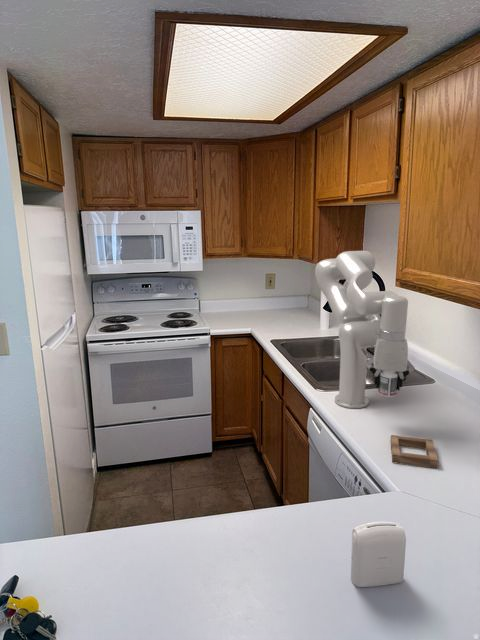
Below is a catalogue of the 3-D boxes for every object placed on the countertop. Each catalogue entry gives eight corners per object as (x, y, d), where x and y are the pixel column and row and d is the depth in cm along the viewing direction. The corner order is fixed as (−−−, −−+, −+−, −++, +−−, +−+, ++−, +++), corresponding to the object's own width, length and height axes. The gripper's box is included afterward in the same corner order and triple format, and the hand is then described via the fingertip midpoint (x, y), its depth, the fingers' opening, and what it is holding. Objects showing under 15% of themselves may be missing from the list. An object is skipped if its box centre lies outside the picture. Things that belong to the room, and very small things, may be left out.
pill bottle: (394, 390, 143) (396, 362, 140) (398, 398, 137) (401, 369, 135) (376, 390, 143) (378, 362, 141) (380, 397, 138) (382, 368, 135)
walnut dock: (390, 442, 135) (390, 434, 134) (431, 447, 132) (432, 439, 131) (392, 462, 124) (392, 454, 123) (437, 468, 120) (438, 460, 120)
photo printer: (354, 590, 82) (357, 534, 79) (347, 572, 86) (349, 519, 83) (406, 585, 83) (411, 530, 80) (396, 567, 87) (400, 514, 84)
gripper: (363, 336, 134) (360, 389, 139) (422, 340, 129) (417, 395, 134) (364, 329, 141) (360, 380, 146) (420, 333, 136) (414, 386, 141)
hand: (387, 387), depth 140 cm, fingers closed on pill bottle, 5 cm apart
